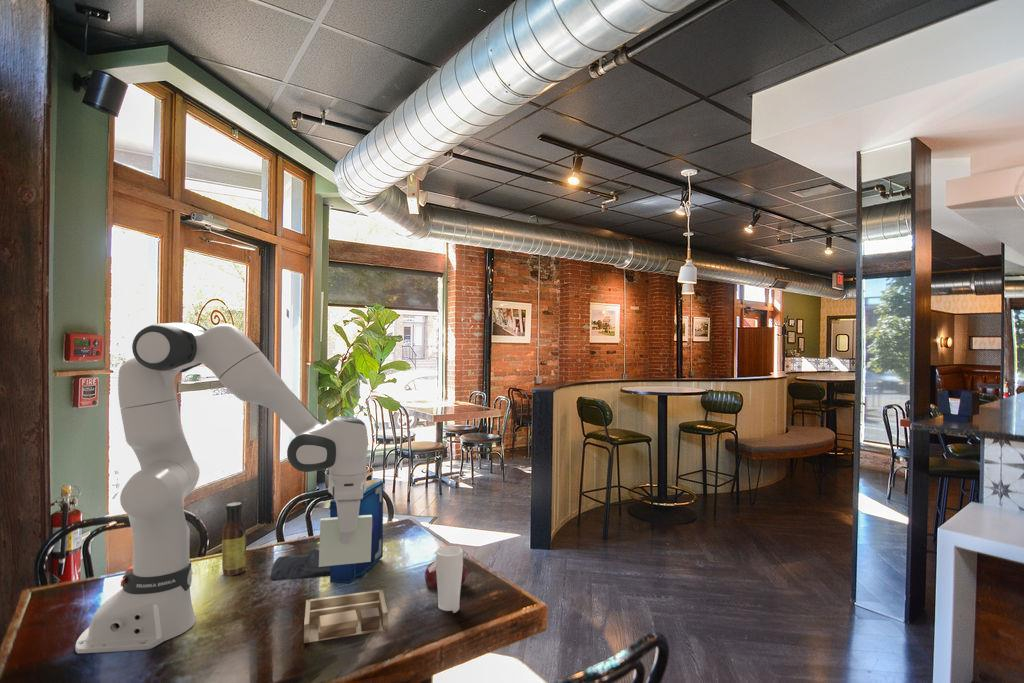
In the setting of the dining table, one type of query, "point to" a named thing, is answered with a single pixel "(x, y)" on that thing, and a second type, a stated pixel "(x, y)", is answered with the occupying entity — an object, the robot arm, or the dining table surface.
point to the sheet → (341, 553)
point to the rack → (343, 604)
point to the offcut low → (336, 633)
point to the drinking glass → (449, 577)
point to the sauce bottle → (234, 541)
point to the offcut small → (370, 619)
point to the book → (374, 507)
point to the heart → (432, 577)
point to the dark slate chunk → (299, 567)
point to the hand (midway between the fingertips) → (345, 540)
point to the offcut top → (338, 621)
